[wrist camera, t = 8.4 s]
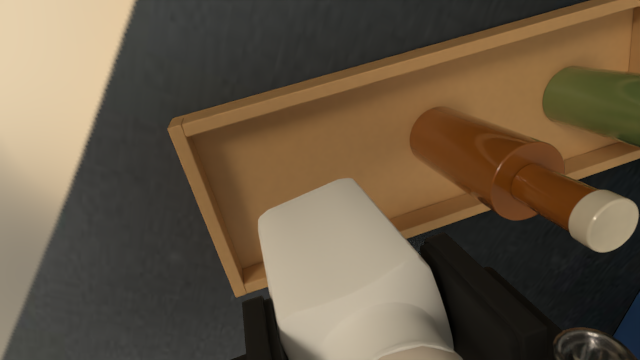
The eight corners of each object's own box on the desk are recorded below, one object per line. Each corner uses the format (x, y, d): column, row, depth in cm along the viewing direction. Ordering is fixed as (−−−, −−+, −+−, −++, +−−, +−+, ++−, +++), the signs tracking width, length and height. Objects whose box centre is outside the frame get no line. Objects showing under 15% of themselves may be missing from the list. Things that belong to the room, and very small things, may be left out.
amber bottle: (413, 171, 22) (566, 287, 12) (404, 115, 21) (568, 196, 11) (466, 154, 22) (654, 253, 13) (461, 98, 21) (666, 162, 11)
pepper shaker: (350, 167, 15) (533, 367, 6) (379, 250, 16) (556, 500, 8) (249, 210, 14) (294, 485, 6) (290, 291, 16) (372, 598, 8)
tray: (234, 275, 22) (235, 298, 20) (171, 117, 18) (166, 128, 17) (622, 144, 25) (653, 153, 23) (635, -13, 22) (673, -17, 20)
